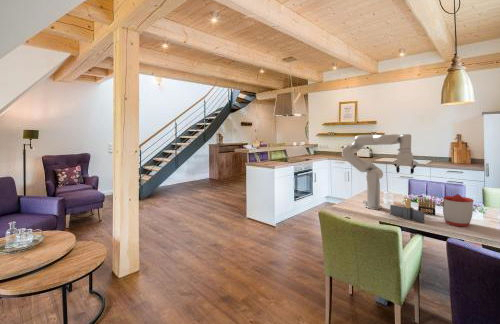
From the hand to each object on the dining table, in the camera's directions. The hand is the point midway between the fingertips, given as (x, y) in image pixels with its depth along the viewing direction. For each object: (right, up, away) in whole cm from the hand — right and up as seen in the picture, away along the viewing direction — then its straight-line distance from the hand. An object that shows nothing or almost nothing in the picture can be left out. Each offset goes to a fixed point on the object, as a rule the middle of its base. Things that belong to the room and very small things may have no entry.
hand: (404, 173), depth 195 cm
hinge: (-5, -32, -12) cm, 34 cm away
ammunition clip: (+14, -31, -4) cm, 34 cm away
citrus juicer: (+17, -33, -26) cm, 45 cm away
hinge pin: (-5, -32, -12) cm, 34 cm away
